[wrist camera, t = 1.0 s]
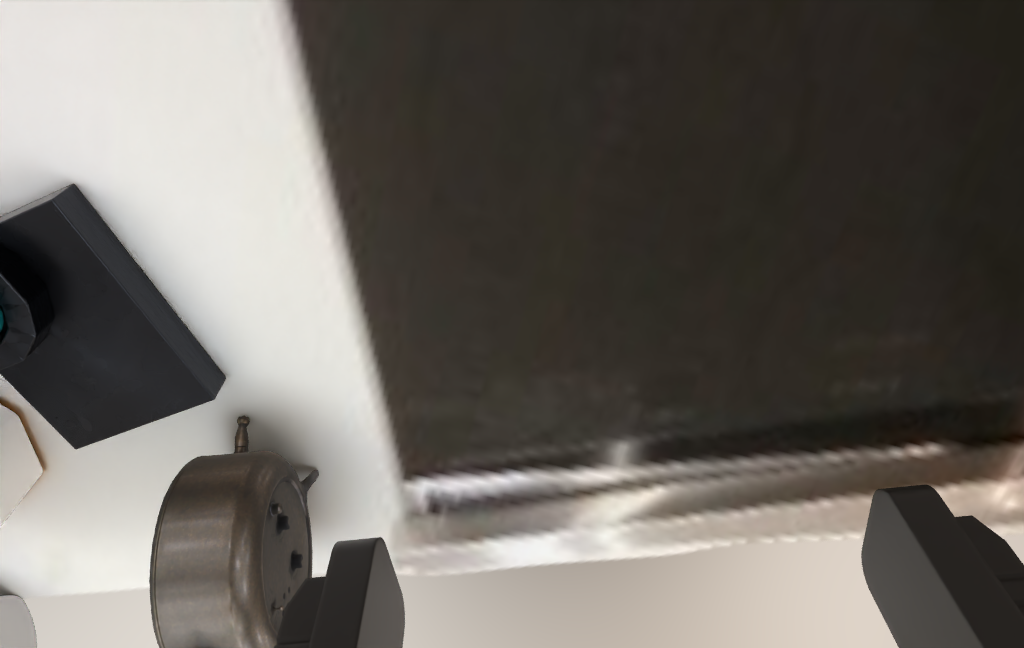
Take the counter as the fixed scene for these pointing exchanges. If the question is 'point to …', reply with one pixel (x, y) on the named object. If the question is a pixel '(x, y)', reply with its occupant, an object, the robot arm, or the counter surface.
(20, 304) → the black push-button base
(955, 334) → the counter surface
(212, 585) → the alarm clock
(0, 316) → the button
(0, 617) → the grey flat curved piece
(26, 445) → the cup
